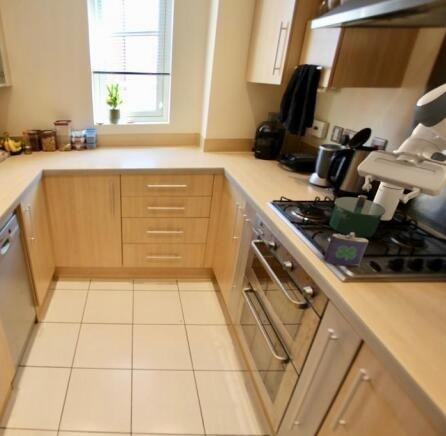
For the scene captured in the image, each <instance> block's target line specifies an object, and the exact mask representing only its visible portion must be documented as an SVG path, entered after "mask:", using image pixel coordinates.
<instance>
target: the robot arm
mask: <svg viewBox="0 0 446 436" xmlns="http://www.w3.org/2000/svg"><path fill="white" fill-rule="evenodd" d="M413 120H415V122H417V123H418V125H416V127H415V128H414V129H413V130H412V132H411V135H410V136H409V137H408V138H407V139H405V140H404V141H403V142H402V144H401V145H400V146H399V147H398V149H396V150H397V151H396V152H395V153H394V152H393V151H387V150H383V149H378V150H373V151H371V152H369V154H368V155H367V157H365V159H364V160H363V161H361V163H360V164H359V165H358V166H357V173H358V176H360V177H362V178H365V179H364V180H365V181H364V184H363V186H362V187H361V188H362V191H365V192H369V191H370V190H371V189H372V187H373V186H372V184H371V183H372V182H373V181H376V182H377V181H378V182H380V183H381V182H384V183H388V184H391V185H395V186H398V187H402V188H405V189H404V190H409V191H411V192H409V193H407V194H405V193H402V195H401V197H400V198H399V203H403V204H407V202H408V201H409V200H411V199H414V198H417V197H419V196H420V194H423V195H426V196H430V197H437V196H440V195H441V194H442V193H443V191H444V190H445V189H446V153H443V152H444V151H446V82H444V83H442V84H441V85H438V86H437V87H435V88H433V89H431V90H430V91H428V92H427V93H425V94H424V95H423V96H421V97H420V98H419V99H418V100H417V101H416V102H415V104H414V107H413Z"/></svg>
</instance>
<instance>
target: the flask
mask: <svg viewBox="0 0 446 436" xmlns="http://www.w3.org/2000/svg"><path fill="white" fill-rule="evenodd" d="M354 235H355V233H353V232H351V233H350V234H349V235H346V234H341V233H333V234H331V235H330V239H329V242H328V245H327V248H326V251H325V253H324V256H323V261H324V262H326V263H328V264H332V265H337V266H343V267H349V268H350V267H351V268H358V267H359V266H360V264H361V262H362V259H363V257H364V254H365V251H366V249H367V247H368V244H369V240H368V239H367V238H365V237H354ZM355 236H356V235H355ZM354 264H359V265H354Z"/></svg>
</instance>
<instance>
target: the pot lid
mask: <svg viewBox="0 0 446 436" xmlns="http://www.w3.org/2000/svg"><path fill="white" fill-rule="evenodd" d="M334 204H336V206H338V207H339V208H341V209H343V210H345V211H347V212H350V213H354V214H358V215H364V216H380V215H383V214H384V213H385V208H384V207H382V206H381V205H379V204H377V203H375V202H373V201H372V200H369V199H368V196H366V195H365V194H364V195H363V194H359V195H358V196H357V197H352V196H342V197H338V198H336V199H335V200H334Z"/></svg>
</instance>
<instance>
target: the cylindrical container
mask: <svg viewBox="0 0 446 436" xmlns="http://www.w3.org/2000/svg"><path fill="white" fill-rule="evenodd" d="M397 150H398V149H394V150H393V151H392V152H394V153H395V152H396V151H397ZM405 190H406V189H405V188H402V187H398V186H395V185H391V184H388V183H384V182H381V181H380V184H379V186H378V189H377V192H376V194H375V196H374V199H373V201H372V202H375V203H377V204H379V205H381V206H382V207H384V208H385V213H384V214H383V215H382V217H381V219H380V221H390V220H392V218H393V216H394V215H395V212H396V209H397V207H398V206H399V203H400V201H399V198H400V197H401V195H402V194H404V191H405Z"/></svg>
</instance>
